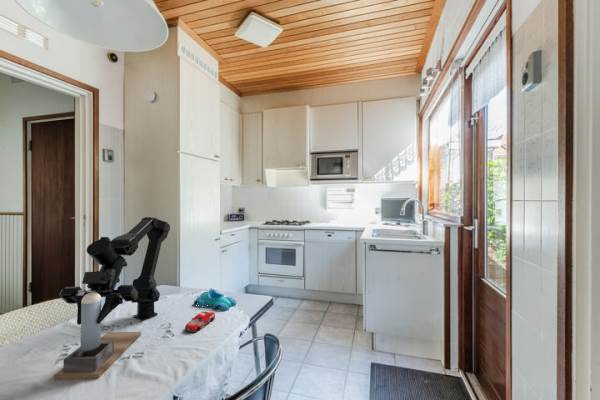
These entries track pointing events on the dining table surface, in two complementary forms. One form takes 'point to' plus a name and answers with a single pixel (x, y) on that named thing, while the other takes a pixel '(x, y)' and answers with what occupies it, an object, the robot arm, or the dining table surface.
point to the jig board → (96, 357)
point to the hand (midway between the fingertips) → (88, 323)
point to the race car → (200, 321)
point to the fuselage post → (90, 321)
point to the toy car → (215, 300)
